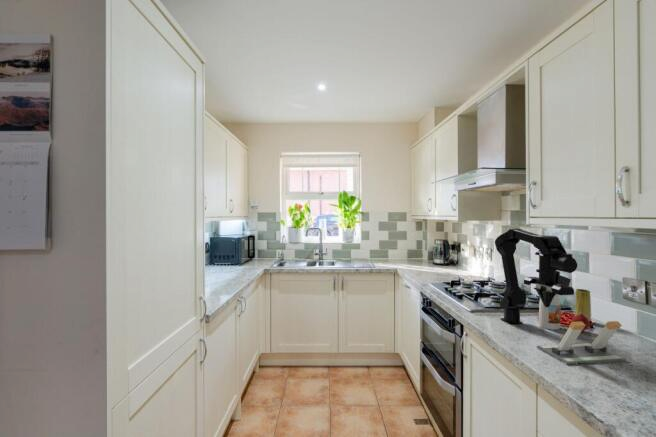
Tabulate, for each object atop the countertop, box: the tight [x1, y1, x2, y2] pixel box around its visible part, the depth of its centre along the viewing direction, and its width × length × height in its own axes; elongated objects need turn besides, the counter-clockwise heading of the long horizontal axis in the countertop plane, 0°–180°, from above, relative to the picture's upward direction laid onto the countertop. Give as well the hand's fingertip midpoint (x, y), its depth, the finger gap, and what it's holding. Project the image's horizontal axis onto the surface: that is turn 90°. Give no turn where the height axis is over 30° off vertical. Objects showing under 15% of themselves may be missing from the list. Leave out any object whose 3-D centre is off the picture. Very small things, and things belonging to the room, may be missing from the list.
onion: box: [571, 313, 590, 332], centre depth 134 cm, size 6×6×8 cm
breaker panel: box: [536, 342, 627, 365], centre depth 113 cm, size 13×22×2 cm, turn 96°
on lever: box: [590, 320, 622, 350], centre depth 110 cm, size 2×4×14 cm
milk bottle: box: [538, 294, 562, 331], centre depth 138 cm, size 8×8×20 cm
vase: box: [573, 288, 592, 322], centre depth 146 cm, size 6×6×14 cm
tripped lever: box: [557, 321, 586, 352], centre depth 109 cm, size 2×4×14 cm, turn 97°
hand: (546, 307), depth 125 cm, fingers closed
